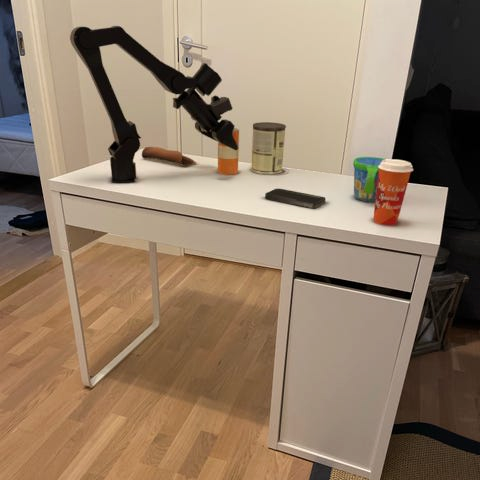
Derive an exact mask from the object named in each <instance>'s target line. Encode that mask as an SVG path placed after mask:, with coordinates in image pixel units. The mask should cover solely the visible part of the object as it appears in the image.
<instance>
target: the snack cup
mask: <svg viewBox="0 0 480 480" xmlns="http://www.w3.org/2000/svg"><path fill="white" fill-rule="evenodd" d="M386 159H387V158H382V157H376V156H359V157H355V158H354V159H353V163H352V165H353V170H354V171H353V195H354V198H355V199H356V200H359V201H362V202H368V203H369V202H370V203H372V202H373V203H375V200H376V192H377V182H378V174H379V168H378V166H379V165H380V163H381V162H382V161H383V160H386Z"/></svg>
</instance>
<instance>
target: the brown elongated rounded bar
mask: <svg viewBox="0 0 480 480" xmlns="http://www.w3.org/2000/svg"><path fill="white" fill-rule="evenodd" d="M141 157H142V159H157V160H160V161H166V162H170V163H174V164H178V165H181V166H182V167H184V168H185V167H190V166H193V165H195V164H197V162H196V161H195V160H194V159H193V158H190V157H188V156H186V155H183V153H181V151H179V150H171V149H167V148H163V147H159V146H146V147H144V148H143V149H142V151H141Z"/></svg>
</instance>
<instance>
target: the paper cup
mask: <svg viewBox="0 0 480 480" xmlns="http://www.w3.org/2000/svg"><path fill="white" fill-rule="evenodd" d="M385 159H386V160H383V161H382V162H381V163H380V165H379V166H378V168H379V174H378V182H377V192H376V200H375V202H374V209H373V219H372V220H373V222H374V223H375V224H378V225H382V226H395V225H396V224H397V223H398V220H399V217H400V214H401V210H402V207H403V202H404V199H405V195H406V191H407V188H408V185H409V181H410V176H411V173H412V172H413V171H414V168H413V165H412V163H411V162H410V161H407V160H403V159H395V158H394V159H393V158H392V159H391V158H388V159H387V158H385Z"/></svg>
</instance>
